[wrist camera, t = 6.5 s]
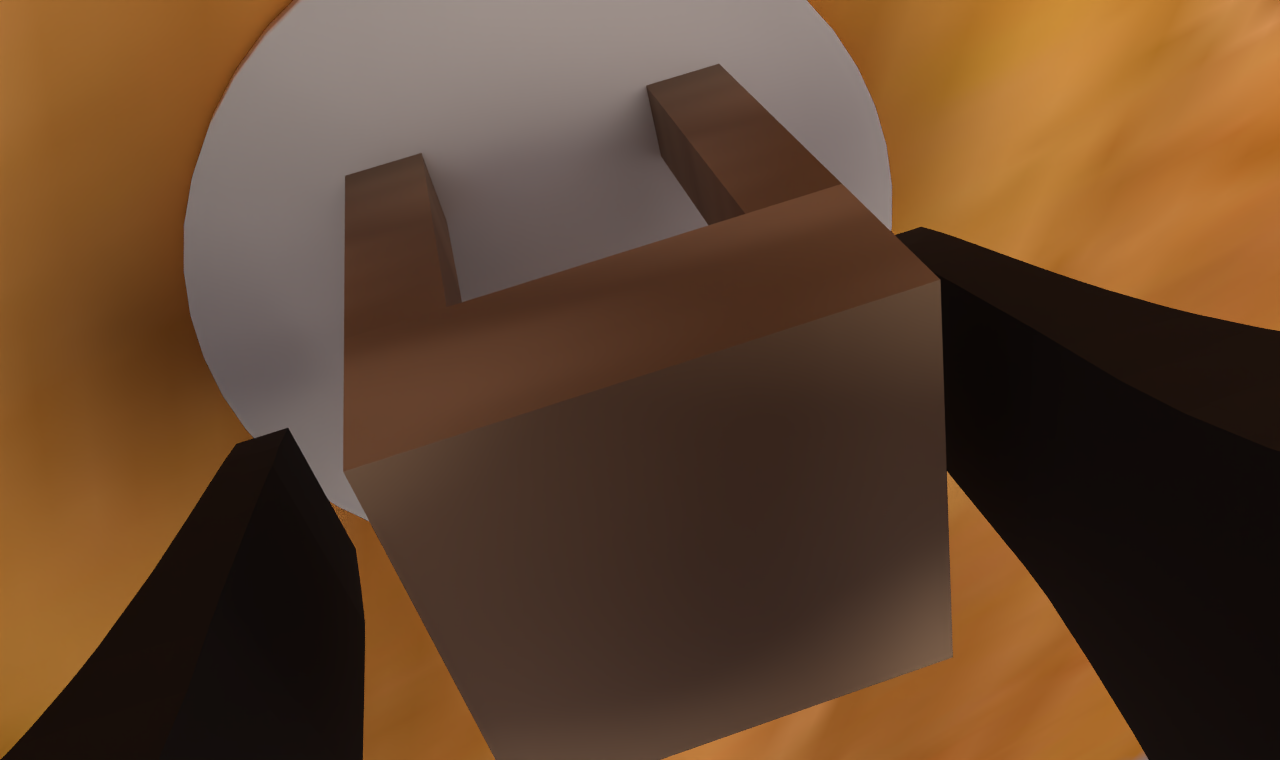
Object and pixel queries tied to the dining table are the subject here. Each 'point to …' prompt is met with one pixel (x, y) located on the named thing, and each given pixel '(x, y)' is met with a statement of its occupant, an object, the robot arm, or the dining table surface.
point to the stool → (657, 449)
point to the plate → (469, 161)
